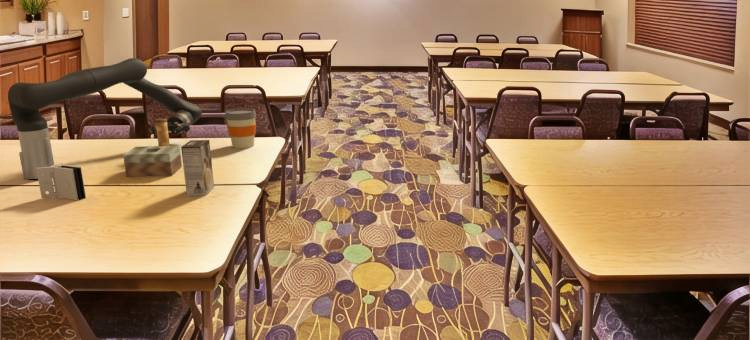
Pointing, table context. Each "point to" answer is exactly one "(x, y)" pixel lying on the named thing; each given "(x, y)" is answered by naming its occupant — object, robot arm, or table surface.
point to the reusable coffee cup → (241, 127)
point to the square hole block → (152, 161)
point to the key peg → (162, 132)
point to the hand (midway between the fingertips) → (165, 131)
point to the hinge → (61, 182)
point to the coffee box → (197, 167)
